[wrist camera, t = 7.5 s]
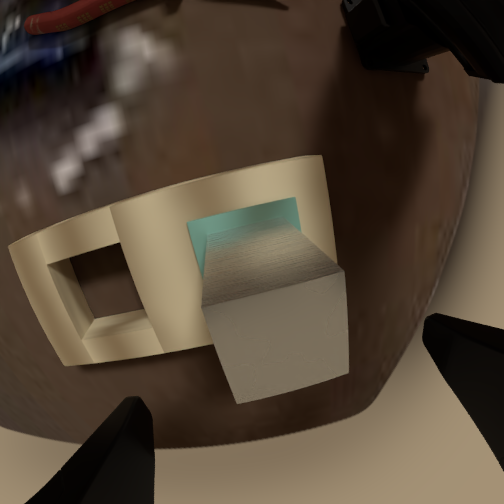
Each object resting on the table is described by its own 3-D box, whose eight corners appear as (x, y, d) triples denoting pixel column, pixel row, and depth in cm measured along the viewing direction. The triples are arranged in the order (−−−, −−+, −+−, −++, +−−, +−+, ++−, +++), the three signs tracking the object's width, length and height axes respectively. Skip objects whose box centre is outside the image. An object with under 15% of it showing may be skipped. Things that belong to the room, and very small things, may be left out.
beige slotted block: (305, 155, 18) (323, 155, 15) (325, 291, 21) (342, 311, 18) (29, 234, 17) (6, 246, 14) (77, 344, 20) (63, 367, 17)
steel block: (283, 216, 16) (344, 271, 8) (294, 284, 17) (349, 372, 9) (207, 234, 15) (201, 307, 8) (226, 302, 17) (237, 403, 9)
